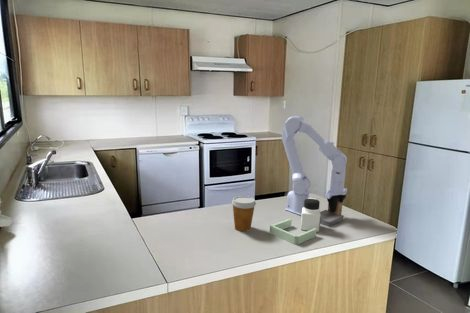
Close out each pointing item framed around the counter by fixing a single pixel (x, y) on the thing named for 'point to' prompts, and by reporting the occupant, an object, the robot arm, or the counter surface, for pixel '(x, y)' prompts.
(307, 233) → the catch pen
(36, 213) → the counter surface
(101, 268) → the counter surface
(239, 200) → the disposable coffee cup
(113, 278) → the counter surface
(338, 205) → the scraper
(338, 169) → the robot arm
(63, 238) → the counter surface
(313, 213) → the medicine bottle
